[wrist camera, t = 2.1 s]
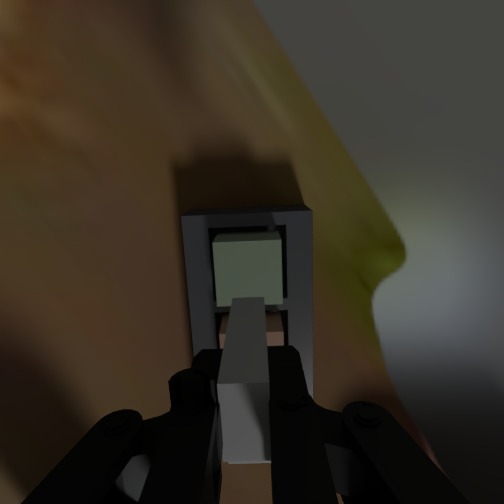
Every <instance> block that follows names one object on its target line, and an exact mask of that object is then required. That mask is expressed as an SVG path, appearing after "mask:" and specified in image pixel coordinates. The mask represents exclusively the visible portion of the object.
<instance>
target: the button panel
mask: <svg viewBox="0 0 504 504" xmlns="http://www.w3.org/2000/svg"><path fill="white" fill-rule="evenodd" d="M181 222H182V233H183V244H184V254H185V265H186V276H187V287H188V297H189V308H190V319H191V329H192V340H193V351H194V356H195V355H196V354H198V353H199V352H200V351H201V350H202V349H220V339H219V332H220V328H221V323H222V318H223V314H230V308H231V306H220V307H217V298H216V284H215V270H214V256H213V241H214V239H215V237H216V235H217V233H228V232H252V231H275V230H278V232H279V235H280V238H281V250H282V292H283V304H272V305H265V312H280V315H281V321H282V326H283V334H284V345H293V346H294V347H295V348H296V349H297V350H298V351H299V353H300V358H301V362H302V366H303V371H304V375H305V379H306V384H307V388H308V393H309V395H311V397H312V398H313V220H312V210H311V209H310V208H308V207H307V206H306V205H289V206H266V207H243V208H220V209H197V210H189V211H188V212H186V213H185V214H183V215H182V216H181Z"/></svg>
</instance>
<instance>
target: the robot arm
mask: <svg viewBox="0 0 504 504" xmlns="http://www.w3.org/2000/svg"><path fill="white" fill-rule="evenodd" d="M168 383H169V391H170V400H171V408H170V411H169V412H167V413H165V414H163V415H161V416H158V417H154V418H150V419H147V420H143V419H142V416H141V414H140V413H139V412H137V411H134V410H132V409H123V410H119V411H115V412H112V413H110V414H108V415H106V416H104V417H103V418H102V419H100V420H99V421H98V422H97V423H96V424H95V425H94V426H93V427H92V428H91V429H90V430H89V431H88V432H87V434H86V435H85V436H84V437H83V438H82V439H81V440H80V441H79V442H78V443H77V444H76V445H75V446H74V447H73V448H72V450H71V451H70V452H69V453H68V454H67V455H66V456H65V457H64V458H63V459H62V460H61V461H60V462H59V463H58V464H57V465H56V467H55V468H54V469H53V470H52V471H51V472H50V473H49V474H48V475H47V476H46V477H45V478H44V479H43V480H42V481H41V483H40V484H39V485H38V486H37V487H36V488H35V489H34V490H33V491H32V492H31V493H30V494H29V495H28V496H27V497H26V499H25V500H24V501H23V502H22V503H21V504H219V501H220V492H221V483H222V471H221V458H222V455H223V462H241V461H271V479H272V500H273V504H339V503H338V499H337V495H336V493H338V494H341V497H342V500H343V502H344V504H470V503H469V501H468V500H467V499H466V498H465V497H464V496H463V495H462V494H461V493H460V491H459V490H457V488H456V487H455V486H454V485H453V484H452V482H451V481H450V480H449V479H448V478H447V477H446V476H445V475H444V473H443V472H442V471H441V470H440V469H439V468H438V467H437V466H436V465H435V463H434V462H433V461H432V460H431V459H430V458H429V457H428V456H427V454H426V453H425V452H424V451H423V450H422V449H421V448H420V447H419V445H418V444H417V443H416V442H415V441H414V440H413V439H412V438H411V437H410V435H409V434H408V433H407V432H406V431H405V430H404V429H403V428H402V426H401V425H400V424H399V423H398V422H397V421H396V420H395V419H394V418H393V416H392V415H391V414H390V413H389V412H388V411H387V410H385V409H384V408H383V407H381V406H379V405H377V404H375V403H371V402H366V401H355V402H352V403H350V404H347V405H346V407H345V408H344V409H343V412H342V413H341V412H336V411H332V410H328V409H325V408H323V407H321V406H319V405H317V404H316V403H315V402H314V400H313V398H312V397H311V395H309V393H308V388H307V384H306V379H305V375H304V371H303V366H302V362H301V358H300V353H299V351H298V350H297V349H296V348H295V347H294V346H293V345H283V346H267V337H266V320H265V303H264V297H245V298H232V303H231V308H230V314H229V319H228V325H227V331H226V336H225V342H224V347H223V348H222V349H202V350H201V351H200V352H199V353H198V354H196V355H195V356H194V359H193V362H192V366H191V368H188V369H185V370H182V371H179V372H177V373H176V374H175V375H173V376H172V377H171V378H170V380H169V381H168Z"/></svg>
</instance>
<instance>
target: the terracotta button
mask: <svg viewBox="0 0 504 504" xmlns="http://www.w3.org/2000/svg"><path fill="white" fill-rule="evenodd" d="M228 319H229V314H223V318H222V323H221V328H220V332H219V339H220V349H222V348H223V347H224V342H225V336H226V331H227V325H228ZM265 320H266V337H267V346H283V345H284V334H283V326H282V321H281V315H280V312H265Z"/></svg>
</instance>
